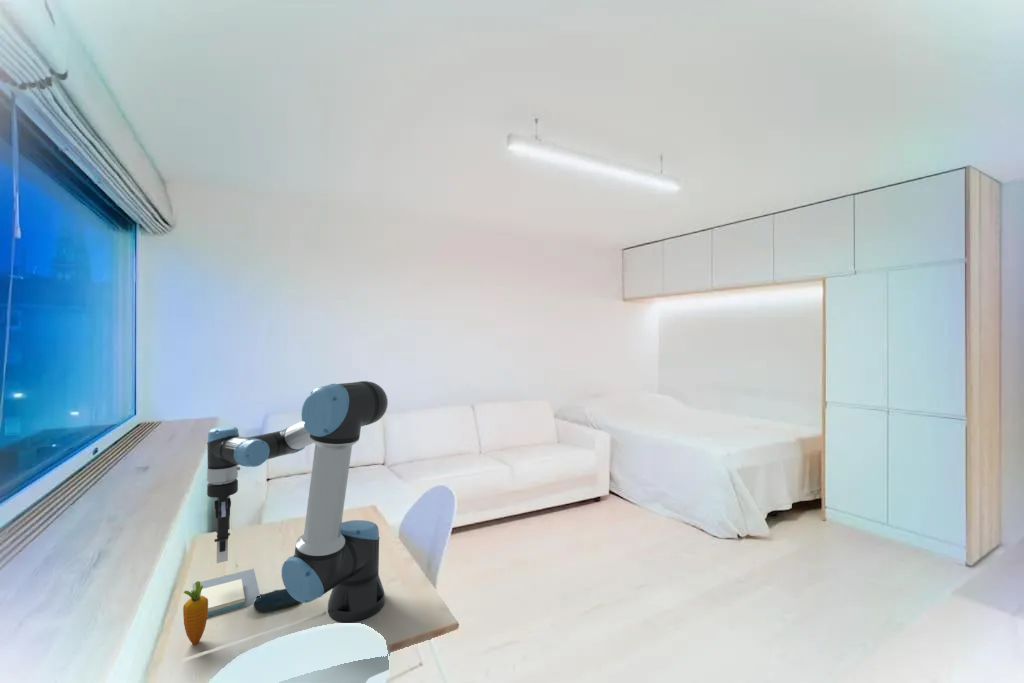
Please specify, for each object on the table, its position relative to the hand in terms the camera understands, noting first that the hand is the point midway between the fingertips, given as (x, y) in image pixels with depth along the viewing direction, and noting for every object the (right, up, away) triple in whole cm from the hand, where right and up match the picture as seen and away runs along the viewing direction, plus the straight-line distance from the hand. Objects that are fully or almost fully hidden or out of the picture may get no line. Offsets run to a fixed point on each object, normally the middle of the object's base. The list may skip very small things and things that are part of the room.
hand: (222, 560), depth 130 cm
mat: (+1, -10, 0) cm, 10 cm away
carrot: (+7, -10, -21) cm, 25 cm away
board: (-1, -8, +1) cm, 8 cm away
